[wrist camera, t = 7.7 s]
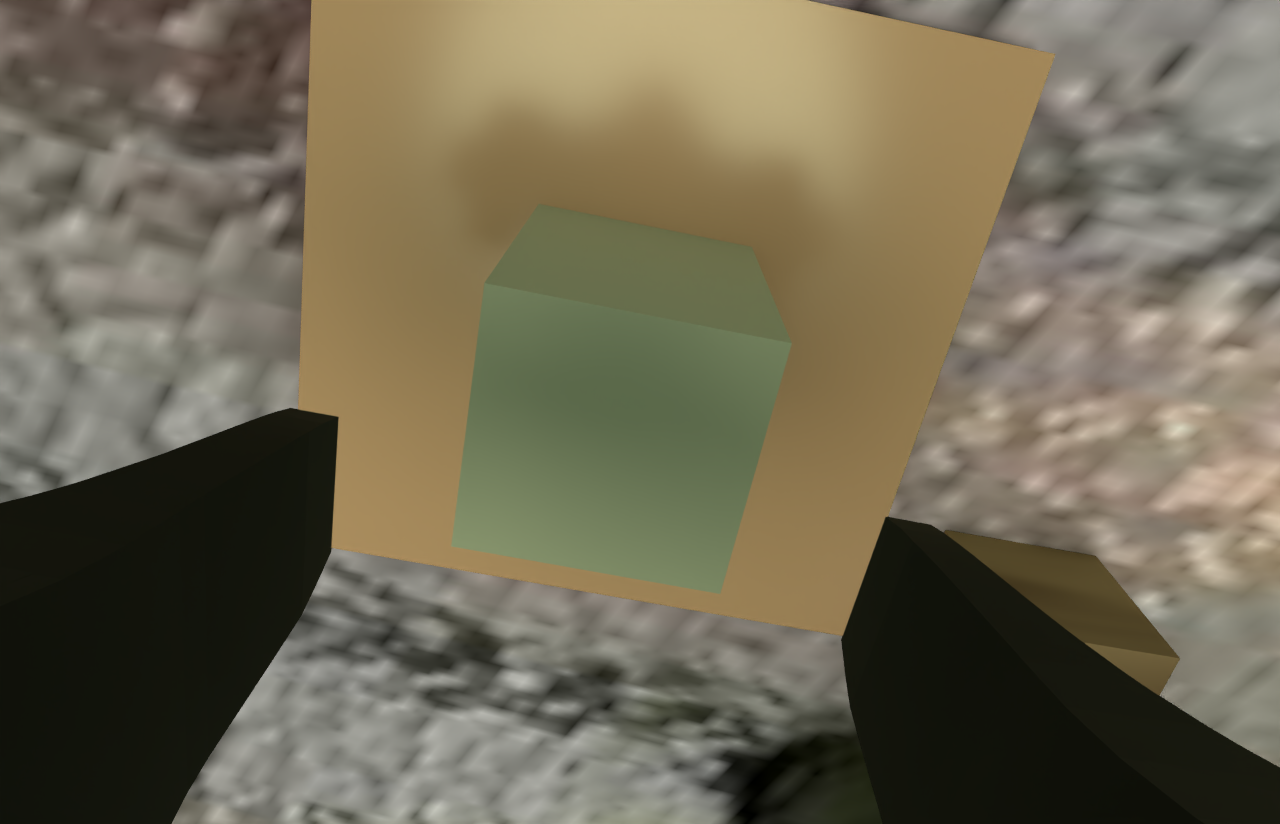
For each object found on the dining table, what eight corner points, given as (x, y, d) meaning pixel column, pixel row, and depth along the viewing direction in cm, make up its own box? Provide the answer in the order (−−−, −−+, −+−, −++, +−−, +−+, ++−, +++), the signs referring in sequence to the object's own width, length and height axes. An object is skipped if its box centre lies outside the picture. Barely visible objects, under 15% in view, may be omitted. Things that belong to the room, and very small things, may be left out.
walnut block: (1036, 674, 24) (1105, 791, 20) (896, 651, 24) (940, 766, 20) (1094, 554, 22) (1179, 658, 19) (944, 528, 22) (1001, 629, 18)
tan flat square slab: (836, 612, 23) (844, 636, 22) (308, 520, 22) (293, 541, 21) (1034, 52, 17) (1055, 54, 16) (334, -99, 16) (314, -107, 16)
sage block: (703, 437, 20) (720, 594, 14) (509, 400, 20) (451, 546, 14) (751, 246, 18) (791, 343, 12) (538, 203, 18) (484, 283, 12)
